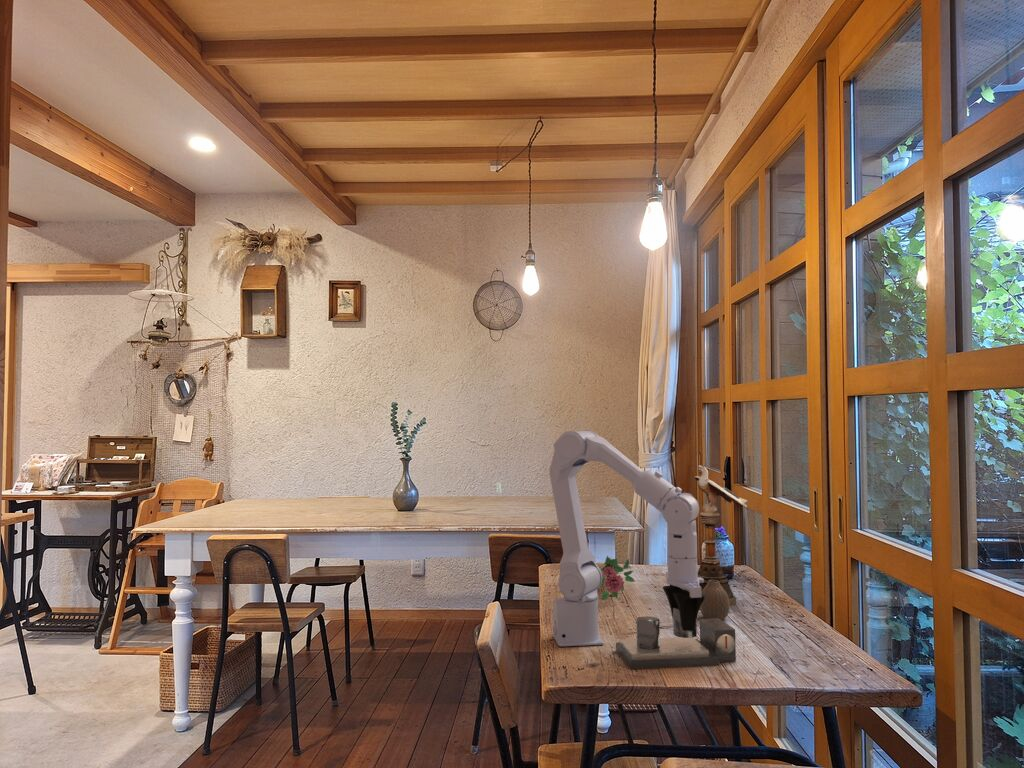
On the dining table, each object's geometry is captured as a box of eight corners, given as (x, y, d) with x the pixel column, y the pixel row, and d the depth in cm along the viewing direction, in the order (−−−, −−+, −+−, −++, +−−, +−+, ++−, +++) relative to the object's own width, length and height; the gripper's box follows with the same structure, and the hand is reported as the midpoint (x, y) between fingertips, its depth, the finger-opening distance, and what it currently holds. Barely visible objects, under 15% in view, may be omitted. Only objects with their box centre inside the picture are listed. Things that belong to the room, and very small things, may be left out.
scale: (630, 669, 134) (630, 636, 134) (615, 650, 145) (615, 620, 145) (739, 664, 136) (738, 631, 137) (716, 646, 147) (715, 616, 148)
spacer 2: (678, 638, 139) (678, 612, 139) (670, 631, 143) (669, 606, 143) (700, 637, 139) (699, 610, 140) (691, 630, 144) (690, 605, 144)
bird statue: (744, 594, 191) (741, 461, 193) (761, 607, 178) (757, 464, 179) (681, 594, 191) (679, 462, 193) (694, 607, 178) (691, 465, 180)
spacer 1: (644, 649, 137) (643, 622, 138) (632, 643, 142) (632, 617, 142) (664, 647, 139) (663, 620, 139) (652, 641, 143) (651, 615, 143)
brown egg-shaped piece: (709, 624, 163) (708, 585, 164) (693, 616, 170) (692, 578, 170) (736, 621, 165) (735, 582, 166) (719, 614, 172) (718, 576, 172)
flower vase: (613, 606, 209) (637, 609, 175) (572, 593, 209) (588, 594, 176) (623, 566, 212) (648, 561, 178) (582, 553, 213) (600, 547, 179)
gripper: (716, 562, 135) (718, 636, 134) (688, 549, 150) (690, 615, 149) (679, 563, 134) (681, 638, 134) (655, 550, 149) (657, 617, 148)
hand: (683, 626), depth 141 cm, fingers closed on spacer 2, 4 cm apart
